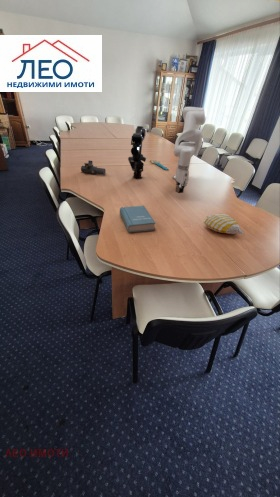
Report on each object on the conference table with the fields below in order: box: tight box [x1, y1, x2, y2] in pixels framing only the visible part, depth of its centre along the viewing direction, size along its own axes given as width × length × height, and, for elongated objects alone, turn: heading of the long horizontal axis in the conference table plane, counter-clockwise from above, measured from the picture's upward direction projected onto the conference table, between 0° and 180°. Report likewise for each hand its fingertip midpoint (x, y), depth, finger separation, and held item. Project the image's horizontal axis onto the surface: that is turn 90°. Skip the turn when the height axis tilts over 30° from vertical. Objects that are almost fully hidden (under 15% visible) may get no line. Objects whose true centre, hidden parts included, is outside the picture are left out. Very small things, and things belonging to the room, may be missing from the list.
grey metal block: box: [174, 184, 185, 194], centre depth 168 cm, size 5×4×5 cm
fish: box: [203, 213, 245, 235], centre depth 133 cm, size 25×8×20 cm
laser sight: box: [80, 160, 107, 176], centre depth 201 cm, size 10×22×10 cm, turn 78°
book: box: [119, 205, 156, 233], centre depth 136 cm, size 23×16×5 cm
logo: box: [150, 160, 169, 171], centre depth 239 cm, size 34×10×1 cm, turn 16°
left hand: (135, 172), depth 182 cm, fingers open, 9 cm apart
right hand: (179, 191), depth 169 cm, fingers closed on grey metal block, 4 cm apart
